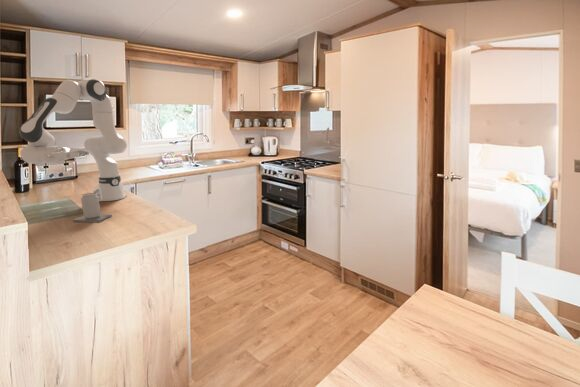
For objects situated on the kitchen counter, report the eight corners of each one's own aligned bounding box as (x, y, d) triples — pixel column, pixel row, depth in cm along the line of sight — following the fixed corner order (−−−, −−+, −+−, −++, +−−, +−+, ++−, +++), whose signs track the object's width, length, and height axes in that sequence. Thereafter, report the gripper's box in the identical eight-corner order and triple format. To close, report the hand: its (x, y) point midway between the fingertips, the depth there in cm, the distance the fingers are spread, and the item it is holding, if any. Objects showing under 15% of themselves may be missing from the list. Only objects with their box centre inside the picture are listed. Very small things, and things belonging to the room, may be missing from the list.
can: (84, 220, 174) (81, 196, 171) (83, 216, 180) (80, 193, 178) (101, 217, 178) (98, 194, 175) (100, 214, 184) (96, 191, 182)
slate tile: (73, 221, 175) (73, 219, 175) (86, 216, 185) (86, 214, 185) (99, 222, 174) (99, 220, 174) (112, 216, 184) (111, 214, 183)
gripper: (42, 150, 171) (72, 149, 172) (65, 146, 191) (92, 146, 192) (45, 163, 173) (74, 162, 174) (67, 158, 193) (94, 157, 194)
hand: (84, 154), depth 183 cm, fingers open, 8 cm apart
